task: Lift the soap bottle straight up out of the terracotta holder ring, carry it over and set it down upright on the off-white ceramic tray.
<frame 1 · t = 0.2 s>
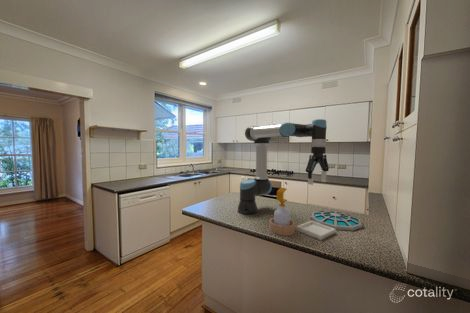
hand: (317, 183, 111), 28 cm above the worktop, fingers open, 13 cm apart
holder ring: (281, 229, 113), on the worktop
decorative platform: (335, 221, 127), on the worktop
soap bottle: (281, 230, 113), resting in holder ring
tray: (315, 231, 110), on the worktop
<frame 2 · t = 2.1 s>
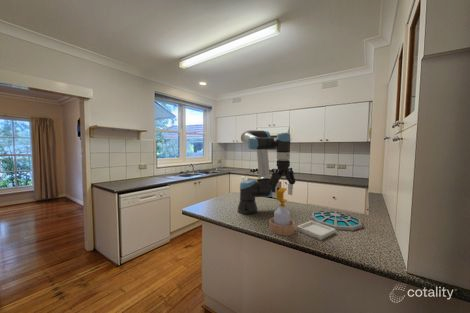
hand: (282, 196, 111), 20 cm above the worktop, fingers open, 13 cm apart
nothing on the worktop moved.
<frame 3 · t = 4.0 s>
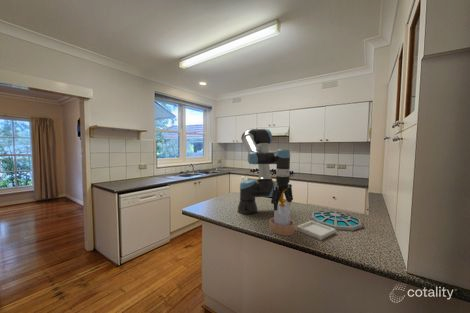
hand: (282, 213, 112), 9 cm above the worktop, fingers closed on soap bottle, 9 cm apart
soap bottle: (281, 229, 113), resting in holder ring, touching gripper
everything else where it was.
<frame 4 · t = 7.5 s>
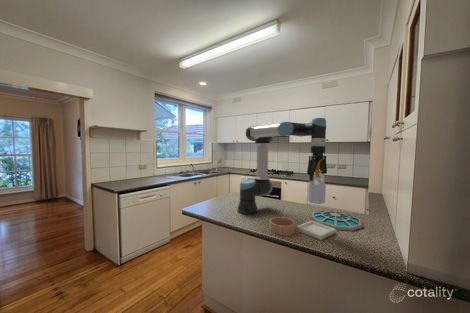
hand: (316, 185, 109), 27 cm above the worktop, fingers closed on soap bottle, 9 cm apart
soap bottle: (316, 202, 109), point 17 cm above the worktop, touching gripper
everything else where it was.
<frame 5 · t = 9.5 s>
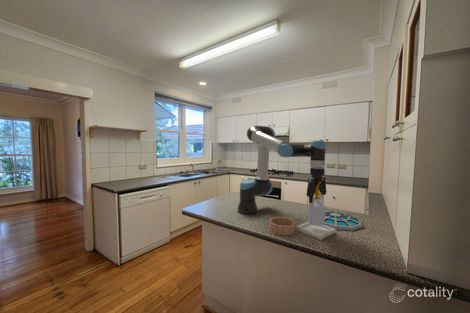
hand: (316, 206, 109), 15 cm above the worktop, fingers closed on soap bottle, 9 cm apart
soap bottle: (316, 223, 110), point 5 cm above the worktop, touching gripper
everything else where it was.
when the fingers open (12 cm above the worktop, at t = 11.1 s): soap bottle drops 1 cm, resting on tray.
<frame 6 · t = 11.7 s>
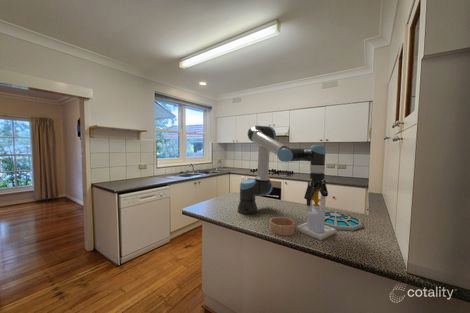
hand: (316, 209, 109), 13 cm above the worktop, fingers open, 13 cm apart
soap bottle: (315, 230, 110), point 1 cm above the worktop, touching tray
everything else where it was.
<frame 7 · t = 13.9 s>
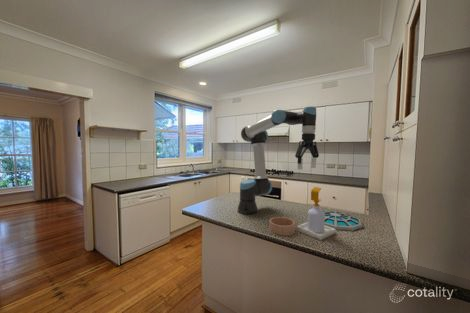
hand: (306, 168, 116), 36 cm above the worktop, fingers open, 13 cm apart
nothing on the worktop moved.
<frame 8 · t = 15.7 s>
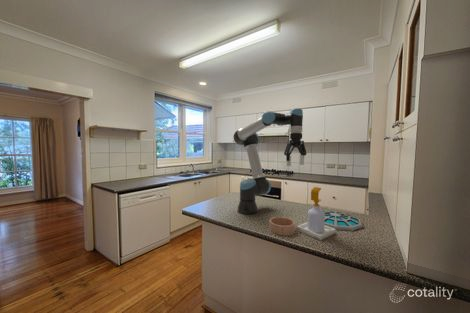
hand: (295, 165, 125), 37 cm above the worktop, fingers open, 13 cm apart
nothing on the worktop moved.
at the end: soap bottle inside the target area on the tray (0.0 cm from its centre), point 0.8 cm above the tray's base; soap bottle tilted 0°; soap bottle touching tray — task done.
